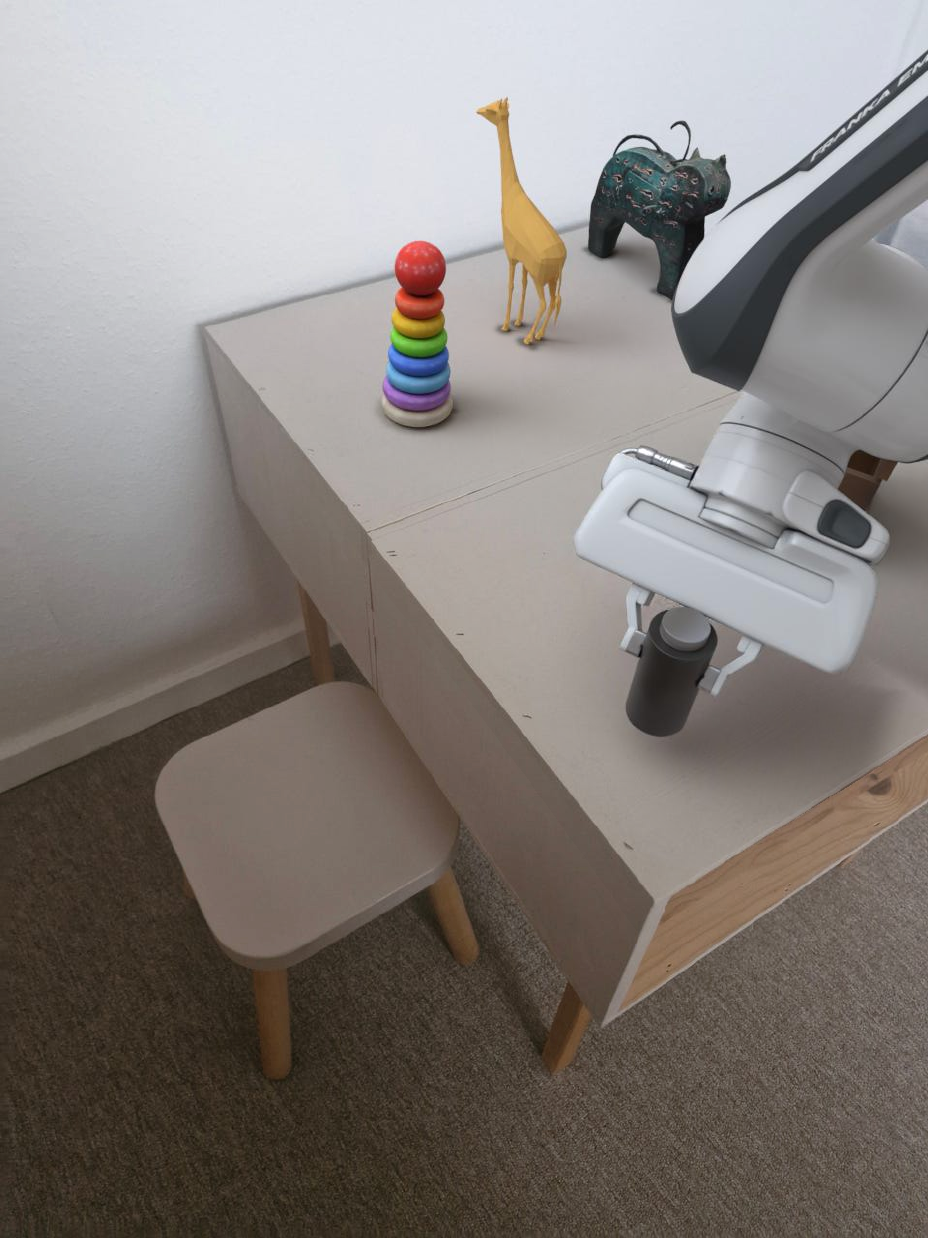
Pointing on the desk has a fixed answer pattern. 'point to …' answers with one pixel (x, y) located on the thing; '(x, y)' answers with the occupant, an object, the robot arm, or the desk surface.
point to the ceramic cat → (658, 203)
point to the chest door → (887, 469)
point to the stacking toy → (418, 341)
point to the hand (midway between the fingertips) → (668, 673)
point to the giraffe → (525, 231)
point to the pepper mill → (670, 671)
